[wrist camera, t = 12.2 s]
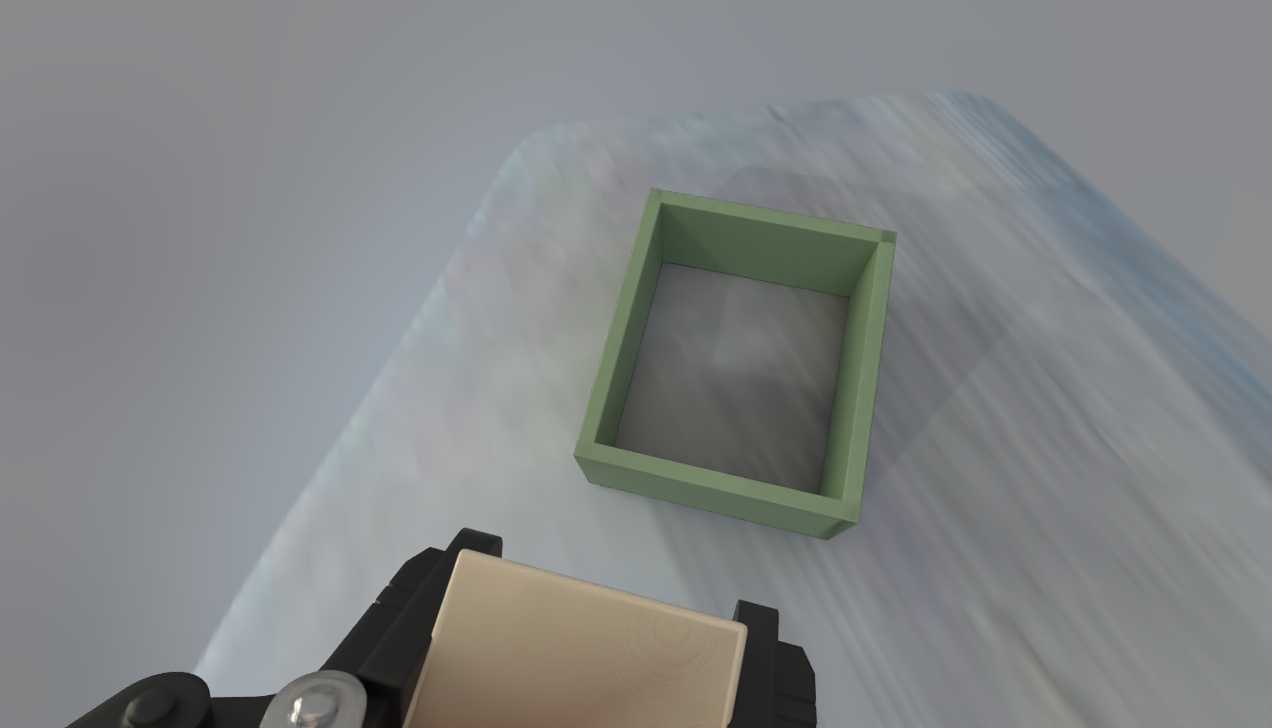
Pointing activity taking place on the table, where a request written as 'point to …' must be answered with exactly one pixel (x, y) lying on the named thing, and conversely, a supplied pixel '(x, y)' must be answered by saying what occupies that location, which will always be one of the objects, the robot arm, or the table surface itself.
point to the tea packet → (570, 655)
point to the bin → (767, 253)
